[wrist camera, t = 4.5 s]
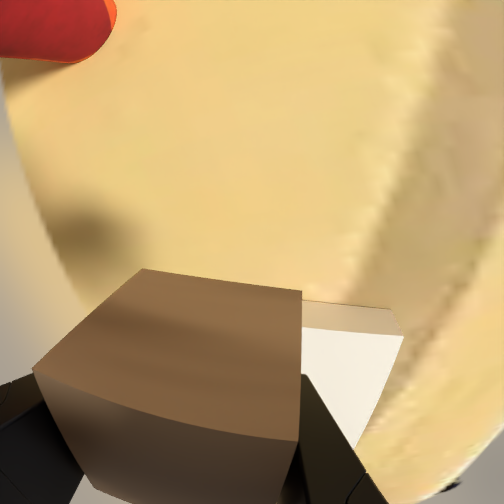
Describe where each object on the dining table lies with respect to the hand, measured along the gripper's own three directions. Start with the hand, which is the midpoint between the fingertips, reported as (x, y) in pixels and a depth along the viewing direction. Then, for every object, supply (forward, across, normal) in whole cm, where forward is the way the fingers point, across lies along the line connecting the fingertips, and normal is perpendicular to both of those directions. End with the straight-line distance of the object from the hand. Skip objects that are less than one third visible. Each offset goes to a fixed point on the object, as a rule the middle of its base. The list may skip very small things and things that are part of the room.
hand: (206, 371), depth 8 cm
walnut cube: (+1, 0, 0) cm, 1 cm away
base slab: (+11, -5, +9) cm, 15 cm away
